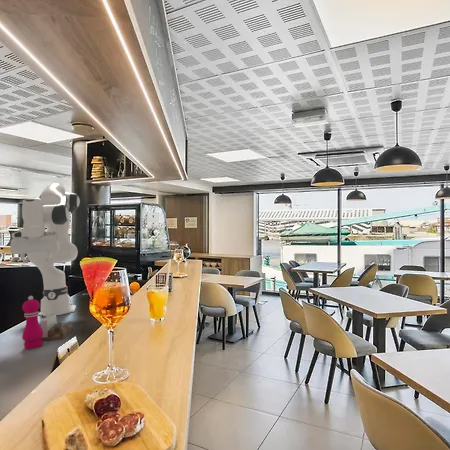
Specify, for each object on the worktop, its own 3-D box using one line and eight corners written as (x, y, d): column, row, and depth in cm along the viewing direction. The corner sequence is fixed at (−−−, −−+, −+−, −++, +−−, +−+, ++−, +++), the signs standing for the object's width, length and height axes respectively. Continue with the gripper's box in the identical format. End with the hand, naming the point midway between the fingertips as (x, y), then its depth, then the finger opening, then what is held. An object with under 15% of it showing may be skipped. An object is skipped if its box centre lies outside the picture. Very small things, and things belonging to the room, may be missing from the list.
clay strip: (51, 329, 154) (50, 313, 154) (57, 328, 154) (56, 313, 154) (41, 337, 142) (40, 320, 142) (47, 337, 142) (46, 320, 142)
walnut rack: (37, 332, 154) (37, 324, 154) (72, 329, 156) (72, 321, 156) (24, 343, 140) (24, 333, 140) (63, 338, 142) (62, 330, 142)
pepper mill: (20, 350, 130) (17, 298, 131) (25, 344, 137) (23, 295, 138) (41, 347, 132) (38, 296, 132) (45, 342, 139) (42, 293, 139)
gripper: (60, 231, 163) (62, 259, 163) (13, 233, 159) (16, 263, 160) (56, 231, 157) (58, 261, 157) (7, 234, 153) (10, 265, 153)
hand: (36, 262), depth 158 cm, fingers open, 8 cm apart
